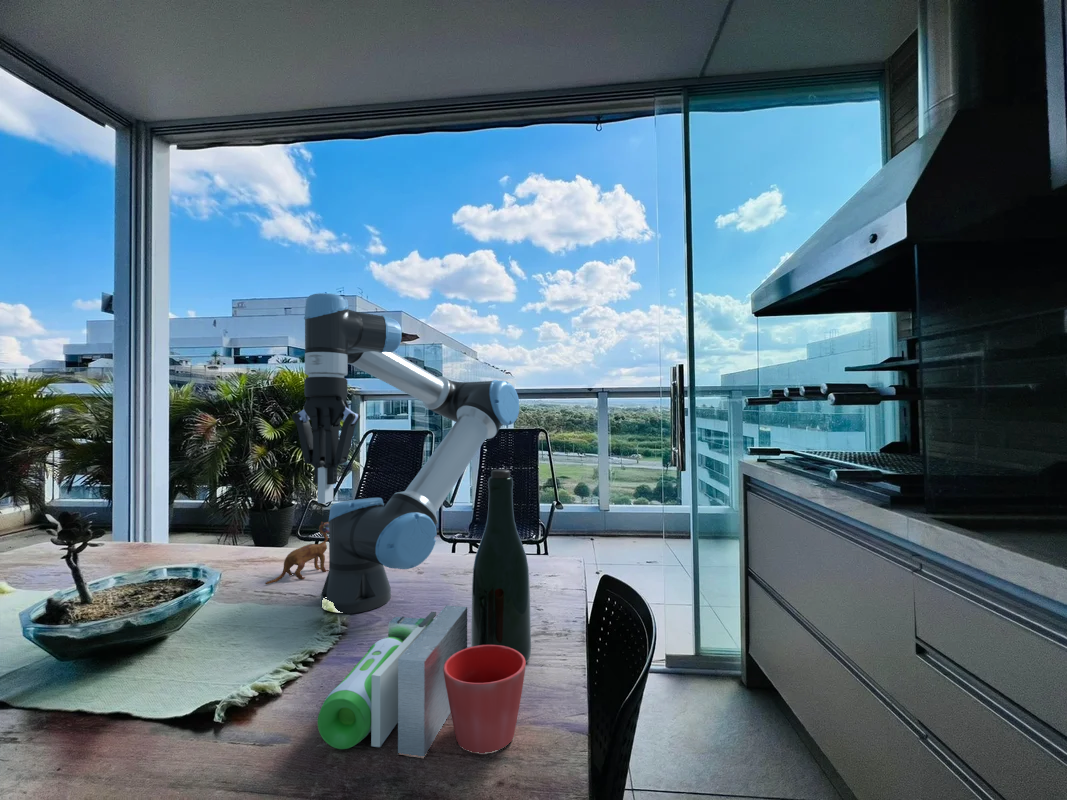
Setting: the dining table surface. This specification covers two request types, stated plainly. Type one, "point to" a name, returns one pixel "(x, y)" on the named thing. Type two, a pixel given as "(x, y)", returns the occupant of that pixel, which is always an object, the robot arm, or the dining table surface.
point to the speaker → (353, 699)
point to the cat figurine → (306, 556)
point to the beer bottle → (501, 576)
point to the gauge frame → (426, 676)
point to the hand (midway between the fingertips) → (325, 501)
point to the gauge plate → (389, 689)
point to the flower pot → (484, 695)
